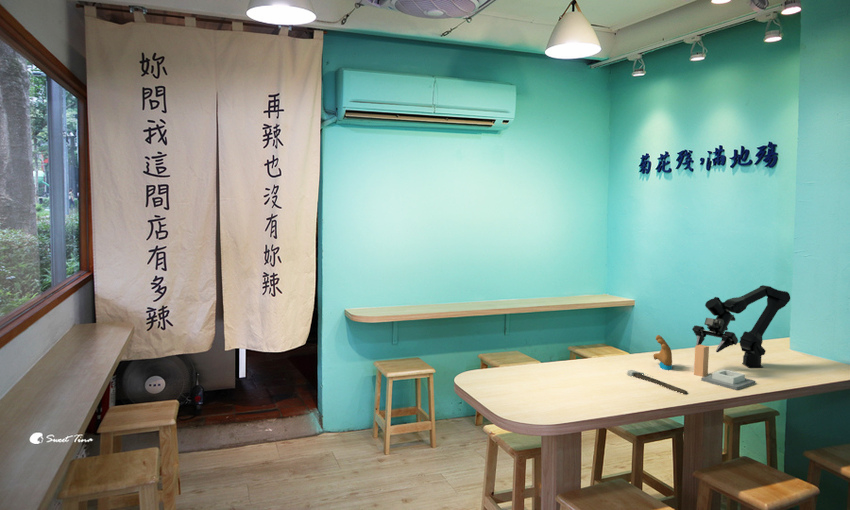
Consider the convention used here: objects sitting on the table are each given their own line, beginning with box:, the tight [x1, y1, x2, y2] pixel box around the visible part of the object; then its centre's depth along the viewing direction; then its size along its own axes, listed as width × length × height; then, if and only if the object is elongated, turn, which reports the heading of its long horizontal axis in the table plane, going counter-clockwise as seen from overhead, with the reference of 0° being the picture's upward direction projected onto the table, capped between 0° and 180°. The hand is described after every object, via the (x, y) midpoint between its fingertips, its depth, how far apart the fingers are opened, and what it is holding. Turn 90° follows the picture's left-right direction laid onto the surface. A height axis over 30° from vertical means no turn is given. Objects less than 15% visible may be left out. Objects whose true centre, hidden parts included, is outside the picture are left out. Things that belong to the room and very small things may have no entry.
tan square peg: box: [693, 344, 710, 378], centre depth 252 cm, size 4×4×13 cm
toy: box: [653, 334, 673, 371], centre depth 265 cm, size 12×7×15 cm, turn 168°
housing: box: [700, 368, 756, 391], centre depth 243 cm, size 15×15×4 cm
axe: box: [627, 369, 688, 395], centre depth 242 cm, size 11×2×30 cm
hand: (706, 349), depth 254 cm, fingers open, 9 cm apart
